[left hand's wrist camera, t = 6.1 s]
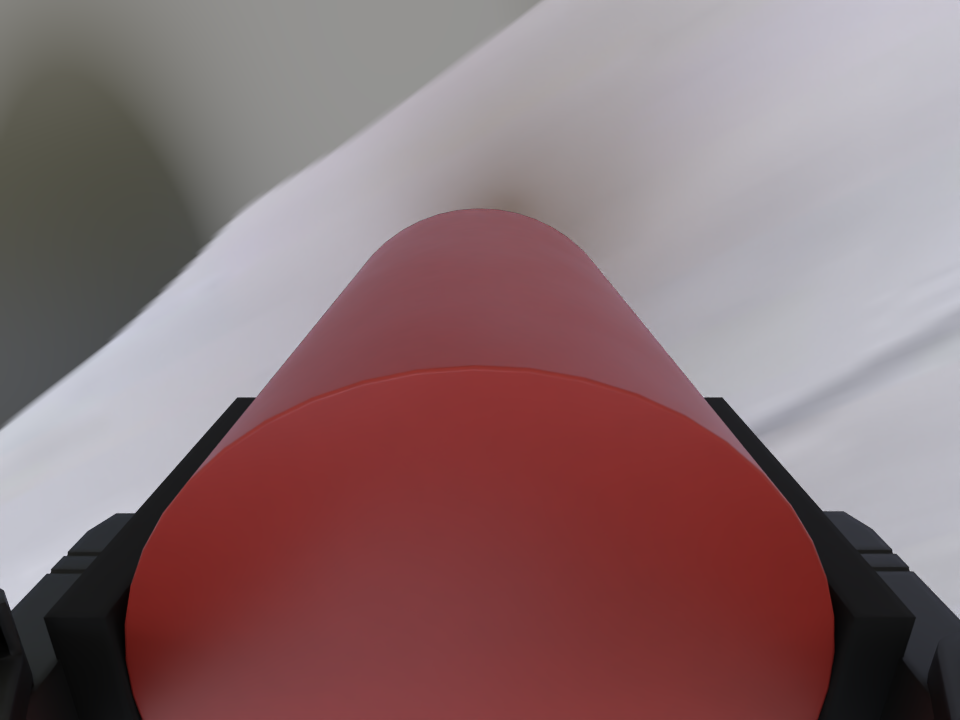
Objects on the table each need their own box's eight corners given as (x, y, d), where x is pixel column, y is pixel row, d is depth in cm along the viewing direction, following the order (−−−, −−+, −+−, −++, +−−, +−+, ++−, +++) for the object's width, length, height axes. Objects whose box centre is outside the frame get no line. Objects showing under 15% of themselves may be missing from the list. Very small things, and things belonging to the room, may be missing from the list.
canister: (677, 299, 20) (996, 583, 8) (528, 513, 22) (585, 969, 10) (419, 150, 18) (294, 204, 6) (294, 401, 21) (37, 785, 9)
